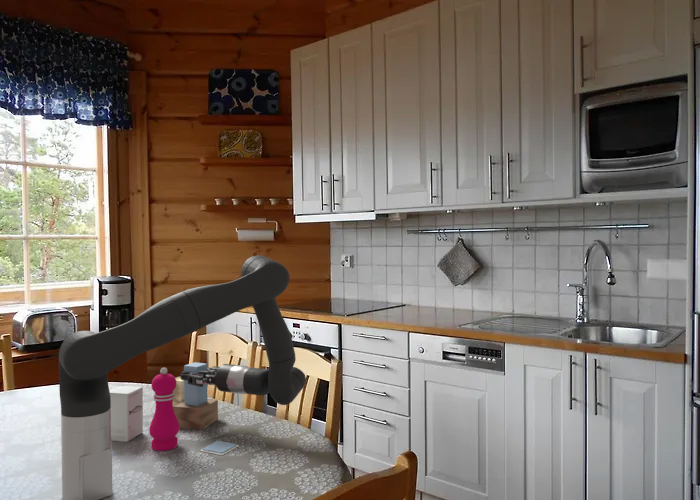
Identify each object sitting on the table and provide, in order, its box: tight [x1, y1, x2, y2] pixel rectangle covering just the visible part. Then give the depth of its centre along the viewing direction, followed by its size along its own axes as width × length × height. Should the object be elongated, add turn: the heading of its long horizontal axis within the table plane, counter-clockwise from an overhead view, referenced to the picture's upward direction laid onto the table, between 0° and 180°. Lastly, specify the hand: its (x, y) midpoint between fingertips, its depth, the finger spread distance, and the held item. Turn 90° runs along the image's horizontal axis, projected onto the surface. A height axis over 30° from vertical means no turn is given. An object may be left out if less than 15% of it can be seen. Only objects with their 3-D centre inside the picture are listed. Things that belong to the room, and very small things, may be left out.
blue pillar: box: [183, 361, 208, 406], centre depth 160 cm, size 4×4×11 cm
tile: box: [199, 440, 240, 456], centre depth 141 cm, size 7×7×1 cm
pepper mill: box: [149, 367, 180, 452], centre depth 142 cm, size 7×7×20 cm
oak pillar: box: [173, 376, 184, 406], centre depth 168 cm, size 4×4×11 cm
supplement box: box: [109, 385, 144, 443], centre depth 150 cm, size 7×7×13 cm
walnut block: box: [173, 398, 219, 430], centre depth 161 cm, size 9×9×6 cm
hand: (188, 373), depth 162 cm, fingers open, 5 cm apart
